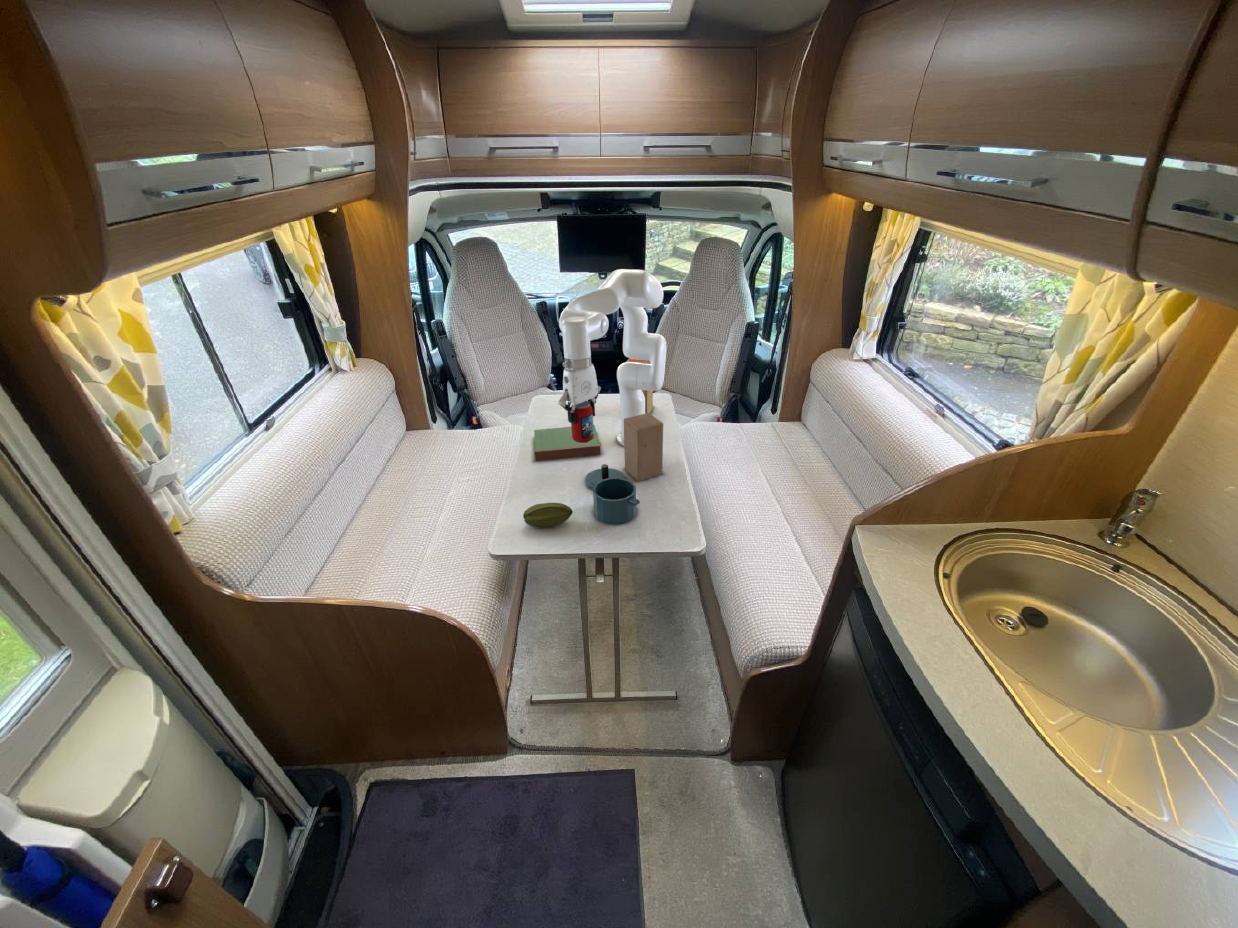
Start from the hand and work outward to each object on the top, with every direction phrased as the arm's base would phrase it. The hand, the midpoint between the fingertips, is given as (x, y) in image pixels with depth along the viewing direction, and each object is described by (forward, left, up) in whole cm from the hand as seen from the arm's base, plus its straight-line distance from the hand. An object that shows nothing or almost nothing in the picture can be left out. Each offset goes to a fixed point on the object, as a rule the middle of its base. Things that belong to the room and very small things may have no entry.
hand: (581, 418), depth 151 cm
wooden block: (-23, +5, -28) cm, 36 cm away
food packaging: (-61, -30, -28) cm, 74 cm away
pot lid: (-10, -1, -27) cm, 29 cm away
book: (-19, -30, -28) cm, 45 cm away
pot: (+1, +14, -28) cm, 31 cm away
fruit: (+19, +3, -28) cm, 34 cm away
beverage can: (0, 0, -7) cm, 7 cm away
